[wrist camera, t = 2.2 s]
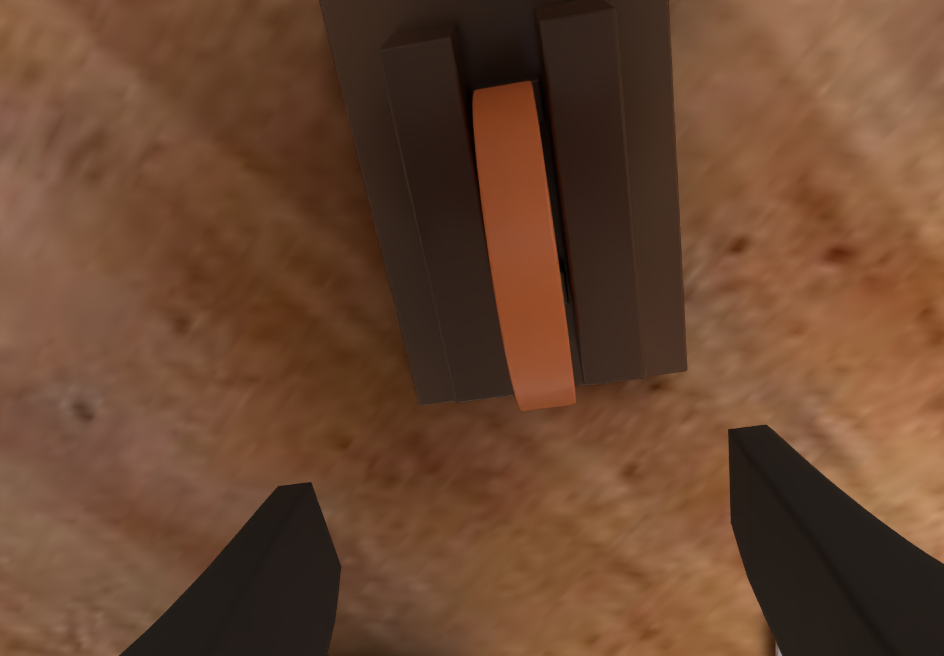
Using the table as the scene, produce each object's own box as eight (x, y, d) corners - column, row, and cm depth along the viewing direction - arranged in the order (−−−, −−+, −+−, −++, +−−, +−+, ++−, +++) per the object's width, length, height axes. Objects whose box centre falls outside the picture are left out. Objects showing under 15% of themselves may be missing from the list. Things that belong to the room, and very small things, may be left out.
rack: (652, -91, 18) (688, -93, 15) (677, 346, 24) (708, 419, 20) (325, -27, 19) (287, -15, 16) (423, 380, 24) (411, 456, 21)
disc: (526, 54, 18) (540, 125, 12) (561, 313, 22) (586, 472, 15) (477, 63, 18) (465, 137, 12) (518, 318, 22) (527, 479, 16)
